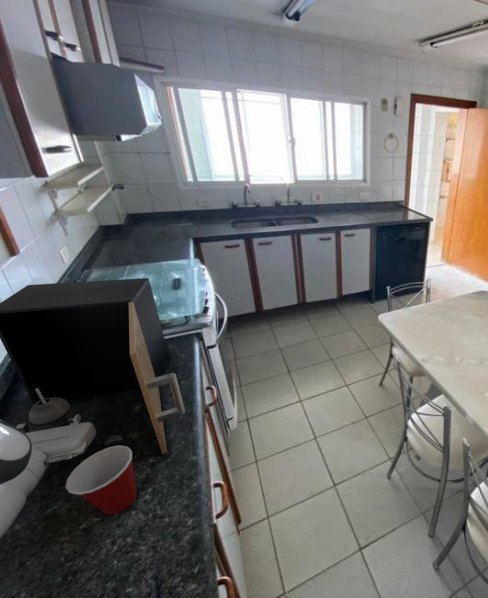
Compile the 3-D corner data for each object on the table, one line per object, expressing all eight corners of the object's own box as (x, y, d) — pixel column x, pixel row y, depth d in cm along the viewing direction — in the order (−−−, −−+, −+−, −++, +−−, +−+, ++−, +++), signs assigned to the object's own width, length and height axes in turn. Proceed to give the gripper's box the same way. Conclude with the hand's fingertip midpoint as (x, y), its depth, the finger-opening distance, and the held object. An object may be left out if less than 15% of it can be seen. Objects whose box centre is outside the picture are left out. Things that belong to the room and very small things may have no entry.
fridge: (157, 388, 106) (131, 300, 93) (35, 408, 95) (-14, 311, 82) (169, 357, 121) (148, 277, 108) (65, 371, 110) (27, 284, 97)
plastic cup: (97, 489, 75) (76, 454, 70) (154, 473, 79) (137, 438, 74) (79, 537, 66) (53, 501, 61) (143, 516, 70) (124, 480, 65)
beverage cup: (82, 431, 89) (50, 372, 80) (94, 443, 86) (61, 383, 77) (46, 450, 83) (6, 390, 74) (57, 464, 80) (17, 402, 71)
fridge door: (180, 383, 109) (158, 297, 96) (193, 444, 88) (167, 345, 75) (155, 390, 105) (128, 302, 92) (163, 456, 84) (129, 354, 71)
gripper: (76, 446, 69) (101, 401, 81) (-63, 473, 62) (-13, 420, 73) (86, 466, 72) (109, 421, 83) (-47, 495, 64) (-1, 441, 76)
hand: (51, 421), depth 78 cm, fingers open, 8 cm apart
